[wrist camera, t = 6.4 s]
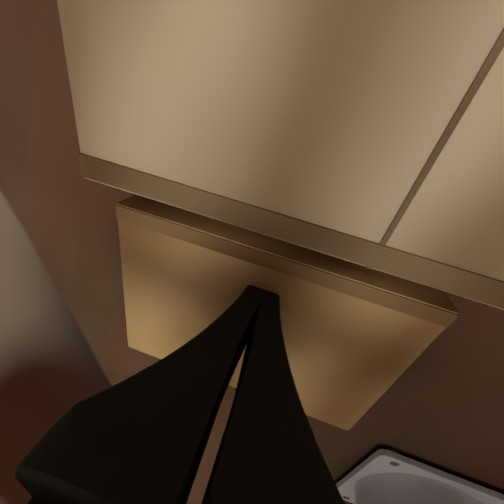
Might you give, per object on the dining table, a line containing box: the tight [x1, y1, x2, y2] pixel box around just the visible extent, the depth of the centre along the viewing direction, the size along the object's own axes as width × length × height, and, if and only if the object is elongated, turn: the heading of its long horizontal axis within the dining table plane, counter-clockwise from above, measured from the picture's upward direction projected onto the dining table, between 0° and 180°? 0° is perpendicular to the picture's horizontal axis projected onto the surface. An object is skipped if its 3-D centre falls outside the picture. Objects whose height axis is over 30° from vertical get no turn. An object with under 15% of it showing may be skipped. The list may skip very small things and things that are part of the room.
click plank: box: [115, 195, 459, 431], centre depth 12 cm, size 13×9×1 cm
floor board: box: [57, 0, 504, 310], centre depth 7 cm, size 16×8×2 cm, turn 78°
